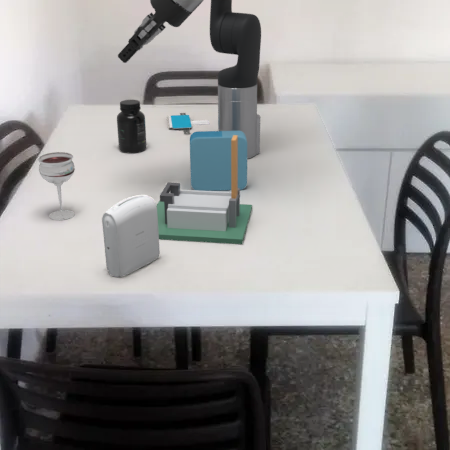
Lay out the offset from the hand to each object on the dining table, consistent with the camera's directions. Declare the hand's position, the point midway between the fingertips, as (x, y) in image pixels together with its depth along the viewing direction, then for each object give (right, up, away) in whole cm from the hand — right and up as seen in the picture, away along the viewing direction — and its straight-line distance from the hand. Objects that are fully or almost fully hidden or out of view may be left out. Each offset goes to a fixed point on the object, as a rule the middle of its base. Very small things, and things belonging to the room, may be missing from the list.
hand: (121, 59), depth 145 cm
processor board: (+15, -33, -5) cm, 37 cm away
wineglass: (-12, -31, -1) cm, 33 cm away
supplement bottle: (-2, -14, +36) cm, 39 cm away
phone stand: (+10, -6, +56) cm, 57 cm away
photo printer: (+5, -40, -20) cm, 45 cm away
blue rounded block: (+19, -25, +13) cm, 34 cm away
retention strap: (+22, -28, -8) cm, 37 cm away
